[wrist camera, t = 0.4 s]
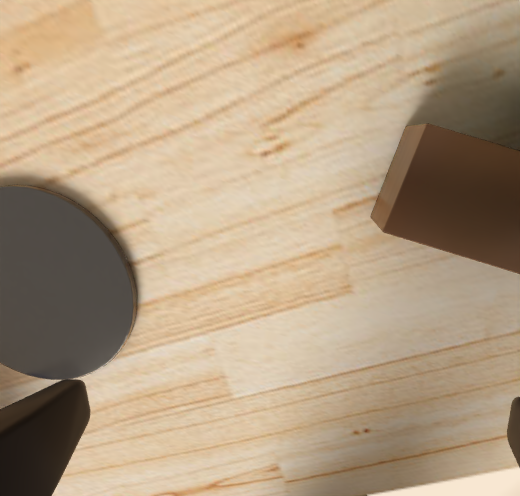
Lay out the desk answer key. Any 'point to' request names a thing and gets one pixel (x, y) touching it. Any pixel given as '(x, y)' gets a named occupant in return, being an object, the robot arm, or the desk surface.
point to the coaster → (60, 286)
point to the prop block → (454, 195)
